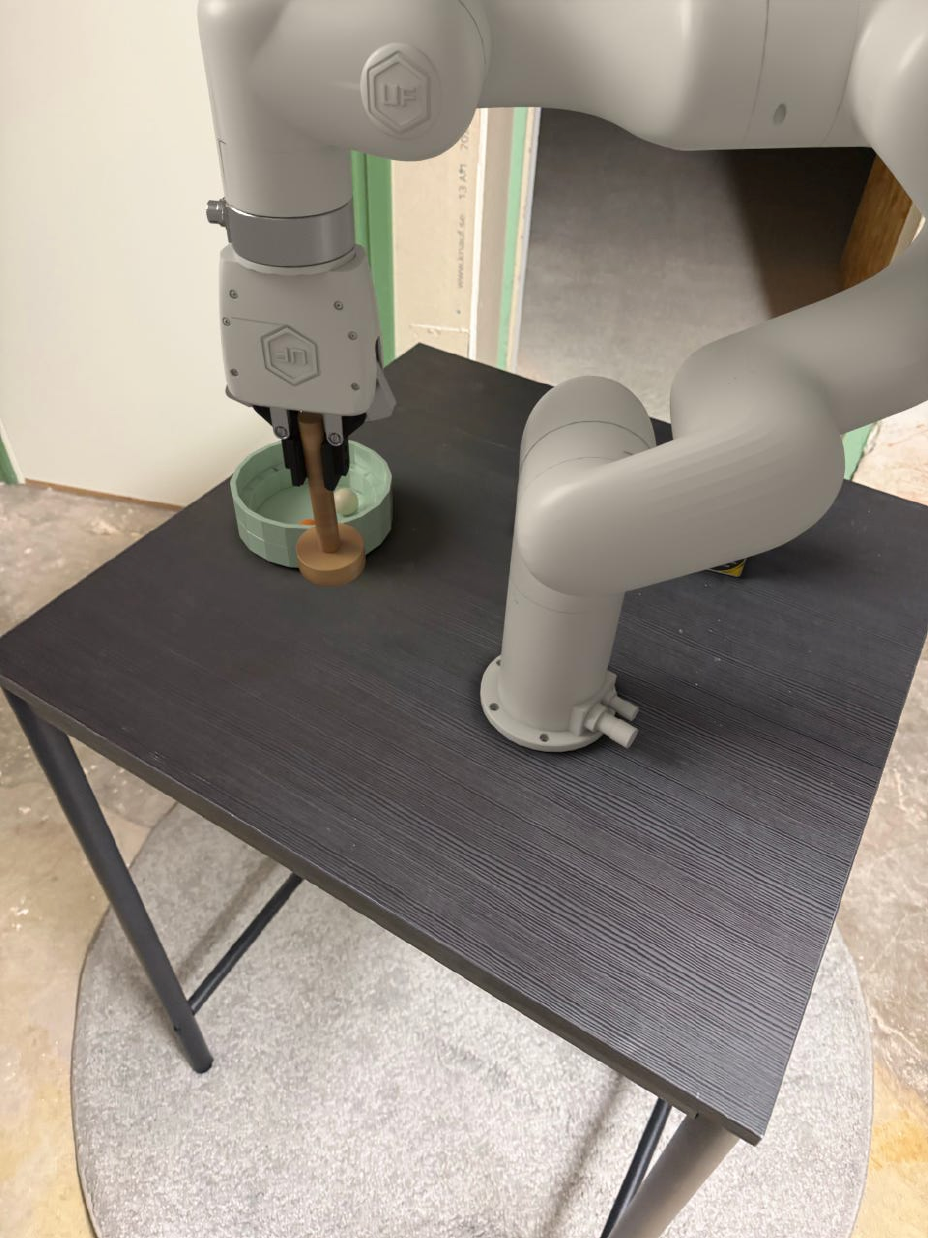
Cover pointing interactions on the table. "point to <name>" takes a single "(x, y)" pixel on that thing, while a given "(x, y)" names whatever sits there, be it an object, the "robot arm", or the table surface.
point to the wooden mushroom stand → (325, 520)
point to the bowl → (305, 501)
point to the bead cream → (345, 501)
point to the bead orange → (308, 522)
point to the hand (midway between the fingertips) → (318, 476)
